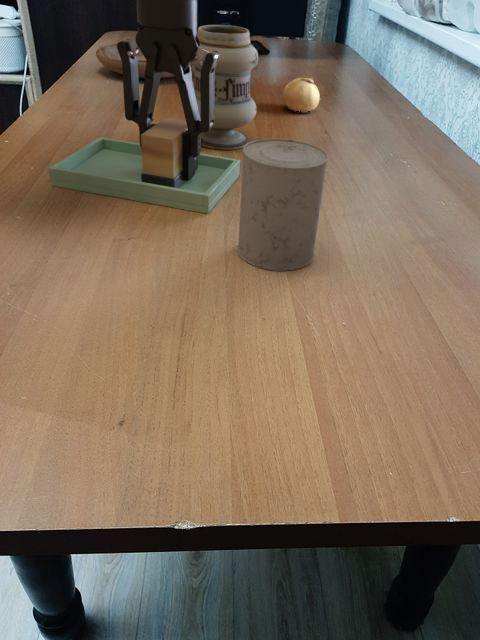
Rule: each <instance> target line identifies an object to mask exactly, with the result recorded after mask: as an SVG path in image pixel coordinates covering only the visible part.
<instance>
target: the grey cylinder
mask: <svg viewBox="0 0 480 640" xmlns="http://www.w3.org/2000/svg"><path fill="white" fill-rule="evenodd" d="M242 153H243V159H242V175H241V176H242V177H241V193H240V209H239V210H240V211H239V228H238V242H237V243H238V244H237V248H236V249H237V250H236V251H237V253H238V256H239V257H240V258H241V259H242V260H243V261H245V262H246V263H247V264H249V265H251V266H254V267H256V268H259V269H263V270H267V271H275V272H289V271H290V272H291V271H295V270H300V269H302V268H305V267H307V266H309V265H310V264H311V263H312V262H311V261H313V260H314V257H315V249H316V242H317V241H316V240H317V233H318V227H319V221H320V215H321V207H322V200H323V195H324V194H323V192H324V187H325V180H326V173H327V166H328V161H329V159H330V157H329V154H328V153H327V151H326V150H324V149H322V148H321V147H319V146H317V145H315V144H311V143H308V142H304V141H301V140H295V139H287V138H262V139H257V140H253V141H249V142H248V144H246V145H245V146H244V147H243V148H242Z"/></svg>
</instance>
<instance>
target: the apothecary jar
mask: <svg viewBox="0 0 480 640" xmlns="http://www.w3.org/2000/svg"><path fill="white" fill-rule="evenodd" d="M250 35H251V33H250V30H249V29H248V28H245V27H242V26H236V25H228V24H227V25H226V24H206V25H201V26H199V27H197V36H198V39H199V41H200V45H201V46H203V47H204V48H206V49H208V50H210V51H217V52H218V53H219V55H220V56H219V60H218V63H217V66H216V69H215V117H214V126H213V127H212V128H211V129H210V130H209V131H208V132H202V133H201V147H205V148H208V149H213V150H218V151H219V150H220V151H221V150H222V151H231V150H238V149H243V148H244V146H245V145H246V144H248V143H249V138H248V137H247V136H246V135H244V134H243V133H241V132H239V131H238V130H235V129H238V128H242V127H245V126H246V125H248V124H249V123H251V122H252V120H254V119H255V118H256V115H257V111H258V109H257V108H258V107H257V105H256V102H255V100H254V99H253V98H252V97H251V75H252V74H251V73H252V70H253V69H254V68H255V67H256V66H257V65H258V62H259V58H260V57H259V53H258V50H257V49H256V48H255V46H254V45H253V44H252V43H251V38H250ZM191 64H193V65H192V66H193V67H194V91H195V96H196V100H197V105H198V109H199V114H200V119H201V79H200V77H201V68H202V67H201V66H200V65H199V57H198V56H197V55H196V56H195V58H194V59H193V61H192V62H191Z"/></svg>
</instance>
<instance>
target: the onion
mask: <svg viewBox="0 0 480 640" xmlns="http://www.w3.org/2000/svg"><path fill="white" fill-rule="evenodd" d="M314 78H315V76H312V77H311V78H309V77H297V78H295V79H293V80H291V81H290V82H288V83H287V84H286V85H285V87H283V88H284V89H283V90H282V94H281V99H282V102H283V104H284V106H285V108H286V109H287V107H288V108H290V111H292V110H293V112H296V111H299V112H300V111H301V113H309V112H308V111H310V112H312V111H314V110H315V109H316V108H317V107H318V105H319V103H320V97H321V96H320V91H319V88H318V87H317V85H316V84H315V82H314V81H315V80H313V79H314Z"/></svg>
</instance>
